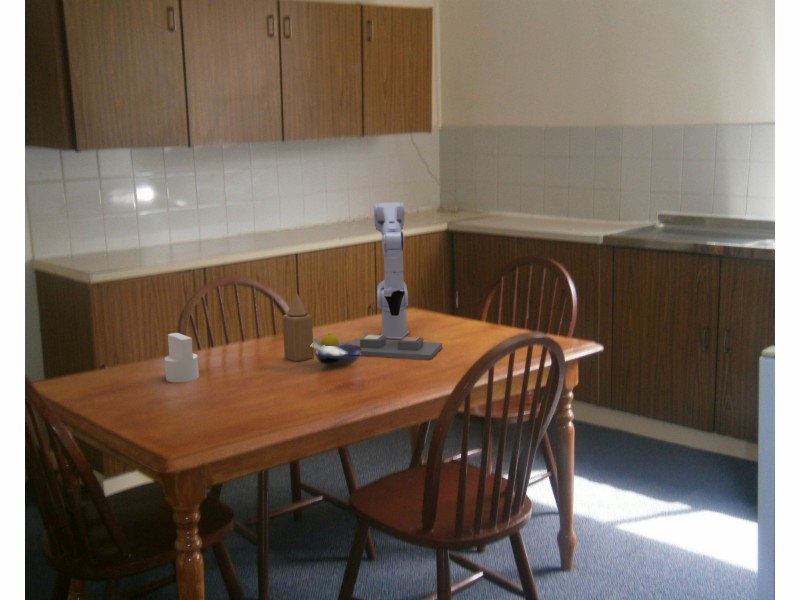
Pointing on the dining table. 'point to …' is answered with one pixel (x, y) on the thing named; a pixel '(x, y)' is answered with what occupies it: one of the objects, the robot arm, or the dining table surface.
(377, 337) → the white key
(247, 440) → the dining table surface
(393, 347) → the grey key base
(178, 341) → the cylinder with rectangular tab
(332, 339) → the lemon
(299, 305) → the decorative item
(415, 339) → the terracotta key
